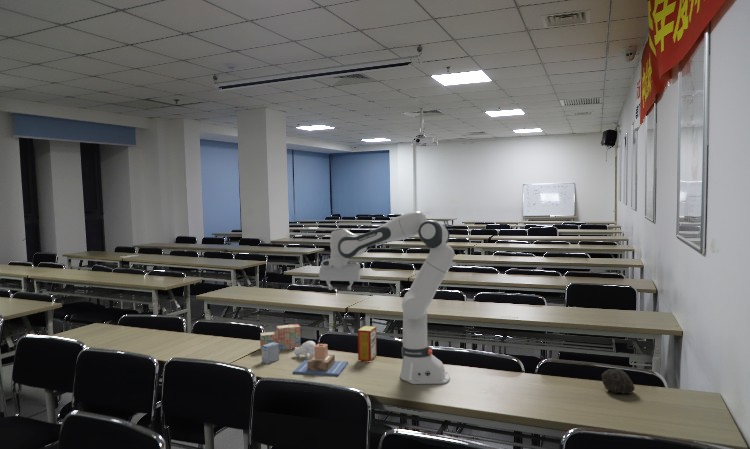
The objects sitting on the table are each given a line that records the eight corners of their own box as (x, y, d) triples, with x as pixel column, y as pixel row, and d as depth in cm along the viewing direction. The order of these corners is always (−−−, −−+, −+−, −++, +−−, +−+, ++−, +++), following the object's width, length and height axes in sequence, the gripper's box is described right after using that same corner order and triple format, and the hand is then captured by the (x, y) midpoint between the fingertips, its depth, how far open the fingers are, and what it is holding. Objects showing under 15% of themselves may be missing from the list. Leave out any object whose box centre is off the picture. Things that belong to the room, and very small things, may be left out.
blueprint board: (348, 363, 239) (347, 353, 239) (338, 376, 222) (338, 364, 222) (305, 361, 244) (305, 351, 243) (293, 373, 226) (292, 362, 226)
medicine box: (273, 358, 250) (273, 341, 249) (279, 359, 247) (279, 343, 247) (261, 362, 243) (261, 345, 243) (267, 364, 240) (267, 346, 240)
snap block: (327, 356, 234) (327, 343, 234) (324, 359, 230) (324, 346, 229) (317, 355, 235) (317, 342, 235) (314, 359, 231) (314, 345, 230)
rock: (640, 393, 194) (635, 368, 194) (615, 399, 192) (610, 374, 193) (624, 387, 204) (619, 363, 204) (600, 392, 202) (595, 368, 203)
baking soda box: (364, 355, 252) (364, 325, 252) (376, 356, 250) (376, 325, 250) (358, 360, 243) (357, 329, 243) (370, 362, 241) (370, 330, 241)
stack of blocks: (261, 352, 260) (261, 330, 260) (260, 349, 266) (259, 327, 266) (301, 348, 268) (300, 326, 267) (298, 345, 273) (298, 323, 273)
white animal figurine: (311, 342, 246) (290, 343, 250) (313, 359, 246) (292, 359, 250) (316, 339, 252) (295, 340, 256) (318, 355, 252) (297, 356, 256)
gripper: (361, 261, 237) (361, 289, 238) (321, 260, 241) (322, 288, 242) (358, 262, 231) (359, 291, 232) (317, 262, 235) (318, 290, 236)
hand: (339, 289), depth 237 cm, fingers open, 8 cm apart
